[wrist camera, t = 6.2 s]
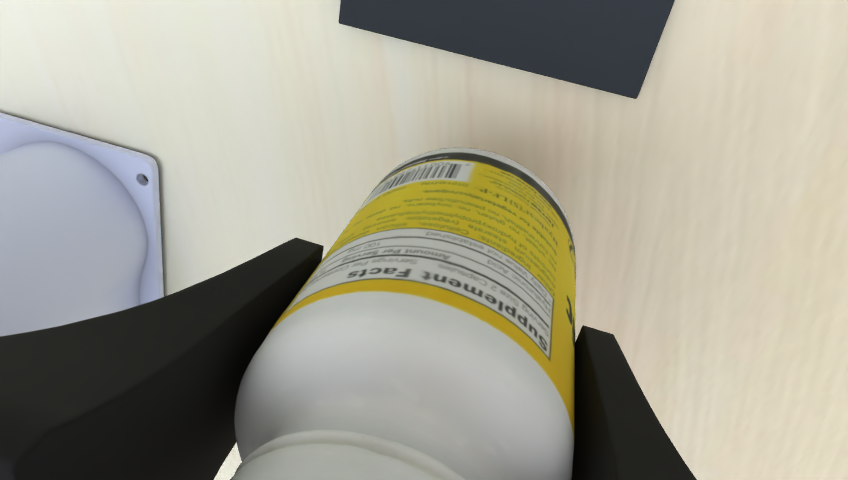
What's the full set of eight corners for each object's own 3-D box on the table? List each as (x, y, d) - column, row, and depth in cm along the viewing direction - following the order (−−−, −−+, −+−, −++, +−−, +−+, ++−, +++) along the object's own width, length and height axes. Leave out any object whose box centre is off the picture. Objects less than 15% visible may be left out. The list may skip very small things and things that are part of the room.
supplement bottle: (506, 361, 17) (426, 809, 8) (336, 265, 17) (83, 628, 8) (624, 214, 14) (681, 670, 6) (421, 98, 14) (166, 390, 5)
